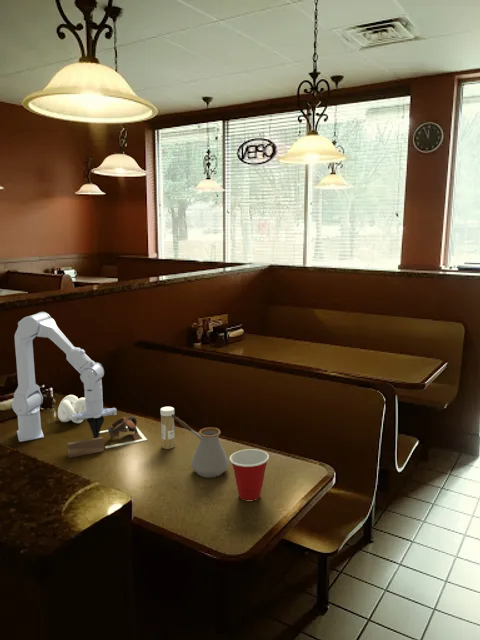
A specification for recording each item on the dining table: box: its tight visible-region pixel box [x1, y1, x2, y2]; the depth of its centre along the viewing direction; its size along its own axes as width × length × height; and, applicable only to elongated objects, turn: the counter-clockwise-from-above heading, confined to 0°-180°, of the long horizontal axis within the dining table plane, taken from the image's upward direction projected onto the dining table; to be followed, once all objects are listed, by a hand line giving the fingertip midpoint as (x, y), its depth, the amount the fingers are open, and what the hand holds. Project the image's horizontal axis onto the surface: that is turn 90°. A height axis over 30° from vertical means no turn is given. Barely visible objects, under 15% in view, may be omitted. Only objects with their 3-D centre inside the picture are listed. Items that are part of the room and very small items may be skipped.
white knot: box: [57, 394, 86, 424], centre depth 195 cm, size 11×12×9 cm
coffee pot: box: [169, 414, 230, 478], centre depth 158 cm, size 21×12×15 cm, turn 55°
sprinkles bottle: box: [160, 406, 176, 450], centre depth 172 cm, size 5×5×13 cm
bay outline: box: [99, 426, 148, 449], centre depth 181 cm, size 14×14×1 cm
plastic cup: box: [228, 448, 270, 501], centre depth 142 cm, size 11×11×12 cm
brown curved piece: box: [107, 415, 140, 441], centre depth 181 cm, size 12×10×8 cm
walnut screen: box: [67, 436, 105, 459], centre depth 168 cm, size 1×11×4 cm, turn 118°
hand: (95, 437), depth 177 cm, fingers closed
